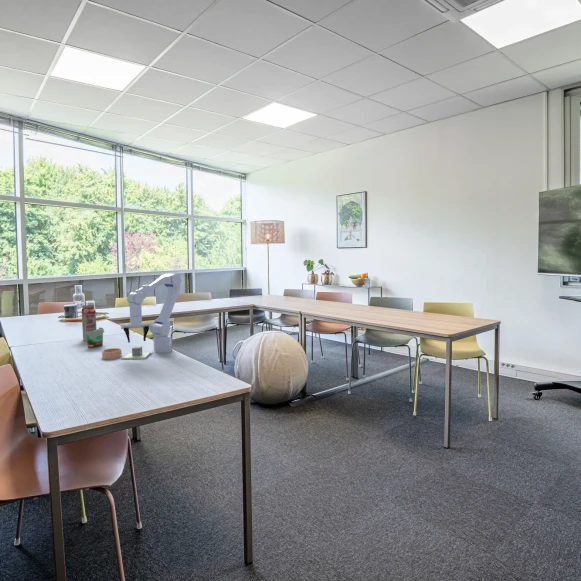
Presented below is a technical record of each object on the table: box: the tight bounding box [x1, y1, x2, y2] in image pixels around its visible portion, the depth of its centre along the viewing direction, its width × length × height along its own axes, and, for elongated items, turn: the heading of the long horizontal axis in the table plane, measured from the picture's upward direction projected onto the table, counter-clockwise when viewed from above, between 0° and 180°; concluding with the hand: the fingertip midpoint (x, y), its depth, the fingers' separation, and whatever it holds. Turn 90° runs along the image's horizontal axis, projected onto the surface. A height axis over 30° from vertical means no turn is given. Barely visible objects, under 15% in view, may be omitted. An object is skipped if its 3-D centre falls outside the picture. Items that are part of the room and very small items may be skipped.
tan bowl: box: [101, 347, 123, 360], centre depth 215 cm, size 9×9×4 cm
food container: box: [86, 327, 105, 349], centre depth 241 cm, size 12×6×10 cm, turn 168°
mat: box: [120, 352, 154, 361], centre depth 216 cm, size 13×13×1 cm
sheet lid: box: [122, 345, 152, 360], centre depth 216 cm, size 11×11×5 cm
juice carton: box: [81, 304, 97, 342], centre depth 258 cm, size 7×7×22 cm
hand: (136, 341), depth 215 cm, fingers open, 7 cm apart
